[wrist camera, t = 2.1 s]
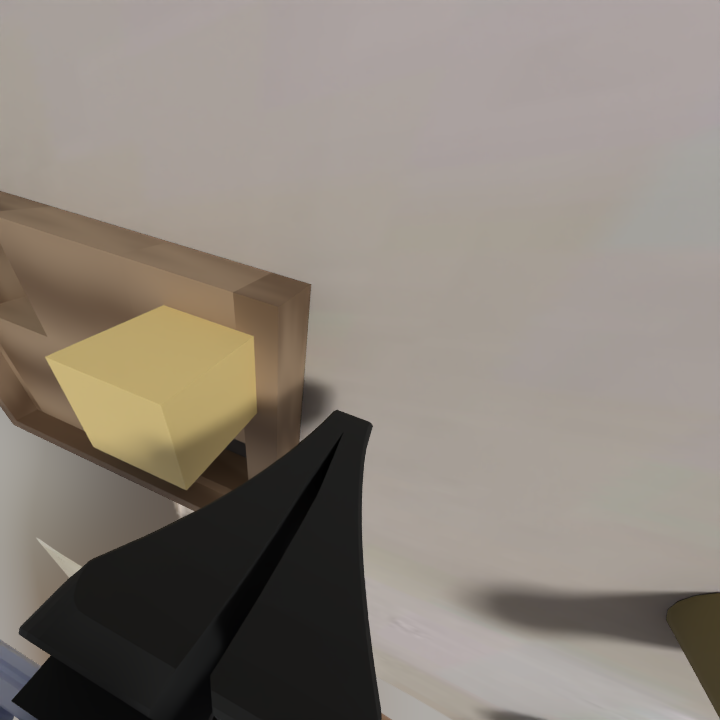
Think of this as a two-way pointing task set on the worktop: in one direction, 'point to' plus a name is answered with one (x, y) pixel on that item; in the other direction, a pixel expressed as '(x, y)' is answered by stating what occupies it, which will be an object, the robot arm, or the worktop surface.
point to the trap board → (124, 302)
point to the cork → (700, 639)
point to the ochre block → (161, 391)
